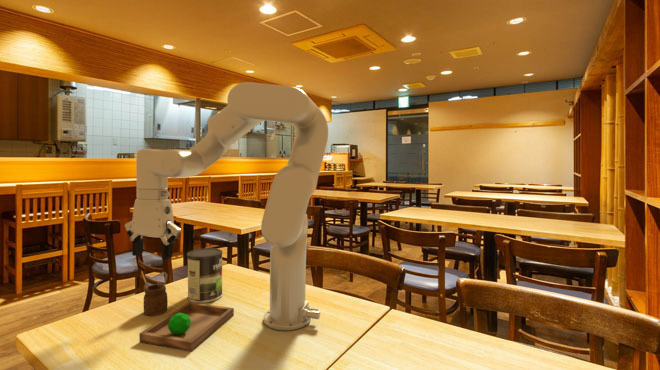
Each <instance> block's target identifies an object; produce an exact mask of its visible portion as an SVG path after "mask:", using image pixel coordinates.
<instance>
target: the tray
mask: <svg viewBox="0 0 660 370" xmlns="http://www.w3.org/2000/svg"><path fill="white" fill-rule="evenodd" d="M234 311H235V310H234V307H227V306H221V305H213V304H207V303H193V302H190V301H189V302H187V303H186V304H184V305H182V306H181V307H178V309H176V310H174V311H173V312H171V313H170V314H168V315H166V316H165V317H163V318H161V319H160V320H159V321H157V322H154V324H152V325H151V326H149V327H147V328H146V329H144V330H143V331H141V332H139V335H138V336H139V343H141V344H148V345H151V346H152V345H153V346H159V347H165V348H169V349H174V350H180V351H182V350H183V351H186V352H193V351H194V350H196V349H197V348H198V347H199V346H200V345H201V344H202V343H204V342H205V341H206V340H207V339H208V338H210V337H211V336H212V335H213V334H214V333H215V332H216V331H218V330H219V329H220V328H221V327H222V326H223V325H225V323H226V324H227V322H229V320H230V319H231V318H232V317H234V315H235V314H234V313H235V312H234ZM177 313H184V314H187V315H188V316H189V318H190V320H191V323H190V327H189V329H188V330H187V332H185V333H183V334H180V335H177V334H174V333H171V332H170V330H169V329H168V323H169V320H170V318H171V317H172V316H173V315H175V314H177Z"/></svg>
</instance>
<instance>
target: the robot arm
mask: <svg viewBox="0 0 660 370" xmlns="http://www.w3.org/2000/svg"><path fill="white" fill-rule="evenodd" d="M226 98H227V100H226V101H227V105H226V106H225V107H223V108H222V109H220V111H218V112H217V113H215V114H214V115H213V116H211V117H210V118H209V119H208V121H207V127H208V128H207V133H206V134H205V136H204V137H203V138H202V139H201V140H200V141H199V142H198V143H196V144H195V145H193V146H192V147H191V148H189V149H175V148H174V149H171V148H170V149H157V148H155V149H154V148H153V149H152V148H141V149H139V150H138V151H137V152H136V164H135V165H136V171H135V172H136V199H135V200H134V204H133V209H132V220H130V221H128V222H126V223H125V224H124V227H125V230H126V233H127V236H128V237H129V241H130V242H131V247H132V248H131V250H132V252H131V253H132V256H133V257H134V256H138V255H141V254H143V253H144V239H143V237H148V238H149V237H151V238H160V239H161V241H162V243H163V245H162V247H161V250H162V251H161V259H162V260H165V261H166V260H169V259H170V258H172V257H173V253H174V250H173V249H174V248H173V247H174V245H173V244H174V243H176V240H178V238H179V236H180V233H181V232H182V229H181V228H180V227H179V226H178V225H176V224H175V221H174V220H175V219H174V213H173V212H174V211H173V206H172V201H171V199H169V197H171V191H169V188H168V187H169V183H168V182H169V178H170V179H180V178H186V177H196V176H198V175H199V174H201V173H203V172H204V171H206V170H208V168H210V167H211V166H212V165H214V164H215V163H217V162H218V161H219V160H220V159H221V158H222V157H223V156H224V154H225V153H227V151H229V149H230V147H231V146H232V145H233V144H235V142H237V141H238V140H240V139H241V138H242V137H244V136H245V135H246V134H248V133H249V132H250V131H252V130H253V129H254V128H256V127H257V126H258V125H260V124H261V123H262V122H263V121H265V122H266V121H267V122H274V123H275V122H276V123H282V124H283V123H284V124H288V125H289V126H292V127H294V128H295V131H296V132H295V133H296V134H295V137H294V141H293V143H292V147H291V151H290V154H289V157H288V161H287V164H286V165H285V166H283V167H282V168H280V169H279V170H278V171H277V173H276V174H275V176H274V178H273V181H272V183H271V186H270V189H269V194H268V196H267V200H266V204H265V208H264V211H263V215H262V218H261V219H262V220H261V224H260V225H261V227H260V228H261V229H260V230H261V235H262V237H263V239H264V241H265V242H266V243H267V244H269V246H270V251H269V252H270V255H269V257H270V258H269V262H270V264H269V310H267V311H266V312H265V313H264V314H263V323H264V324H265V326H267V327H269V328H271V329H273V330H277V331H294V330H298V329H301V328H303V327H306V326H307V325H308V324H309V323H310V322H311V320H312V319H313V320H320V318H321V311H319V308H318V307H311V306H309V301H308V300H306V286H307V285H306V283H307V282H306V280H307V279H306V277H307V275H306V274H307V273H306V272H307V246H308V245H307V242H308V241H307V240H308V229H309V221H308V215H307V209H308V206H309V203H310V200H311V197H312V195H313V194H314V192H315V191H316V189H317V185H318V180H319V175H320V171H321V169H322V168H321V167H322V164H323V160H324V156H325V153H326V148H327V145H328V144H327V143H328V139H329V126H328V122H327V117H325V116H326V115H324V113H323V111H322V109H320V108H319V107H318V106H317V104H316V103H315V102H314V101H313V100H312V99H311V98H310V97H309V95H308V94H307V93H306V92H305V91H304V90H303V89H300V88H298V87H295V86H290V85H289V86H288V85H281V84H280V85H279V84H272V83H271V84H270V83H269V84H268V83H263V82H262V83H261V82H260V83H259V82H252V81H249V82H248V81H245V82H239V83H237V84H236V85H234V86H232V88H231V89H230V90H229V92H228V94H227V97H226Z"/></svg>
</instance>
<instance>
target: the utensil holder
mask: <svg viewBox="0 0 660 370" xmlns="http://www.w3.org/2000/svg"><path fill="white" fill-rule="evenodd" d="M164 274H166V272H165V271H163V272H162V271H161V272H160V274H158V279H156V281H157V282H156V284H155V283H154V284H151V285H148V284H147V279H146V278H145V275H144V271H141V276H142V279H143V282H144V284H145V289H144V296H143V313H144V315H145V316H149V317H153V316H158V315H162V314H165V312H167V310H168V303H169V302H168V293H167V288H166V284H164V283H166V282H167V280H168V279H165V280H164V279H161V281H160V278H161V275H162V277H164ZM164 278H167V275H165V277H164ZM163 280H164V281H163ZM160 282H163V284H162V283H160Z"/></svg>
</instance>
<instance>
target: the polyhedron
mask: <svg viewBox="0 0 660 370" xmlns="http://www.w3.org/2000/svg"><path fill="white" fill-rule="evenodd" d="M190 323H191V320H190V318H189V316H188V315H187V314H184V313H177V314H175V315H173V316H172V317H171V318H170V320H169V323H168V329H169V330H170V332H171V333H174V334H177V335H180V334H183V333H185V332H187V330H188V329H189V327H190Z"/></svg>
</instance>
